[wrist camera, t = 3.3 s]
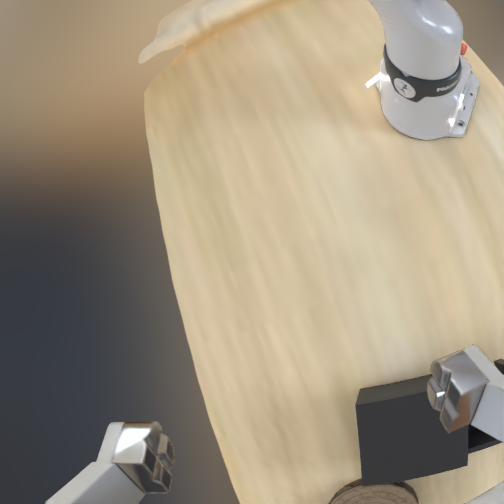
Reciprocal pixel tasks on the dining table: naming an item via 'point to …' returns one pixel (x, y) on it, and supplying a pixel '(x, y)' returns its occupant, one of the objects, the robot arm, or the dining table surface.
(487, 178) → the dining table surface
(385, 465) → the cabinet
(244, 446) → the dining table surface
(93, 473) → the robot arm
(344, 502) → the round wood slice
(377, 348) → the dining table surface
